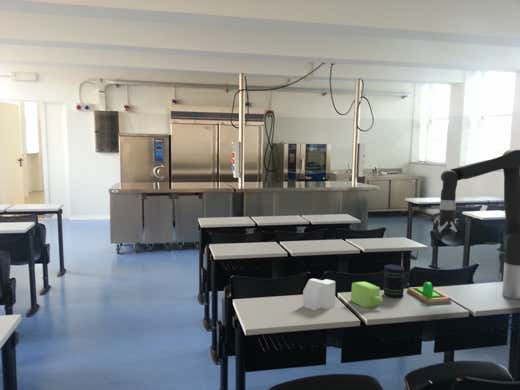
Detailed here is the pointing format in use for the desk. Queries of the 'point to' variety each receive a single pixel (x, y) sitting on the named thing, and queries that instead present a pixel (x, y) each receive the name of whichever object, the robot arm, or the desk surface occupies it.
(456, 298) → the desk surface
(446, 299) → the fitting jig
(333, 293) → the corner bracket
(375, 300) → the gearbox
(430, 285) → the mechanical part
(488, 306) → the desk surface
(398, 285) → the storage jar
